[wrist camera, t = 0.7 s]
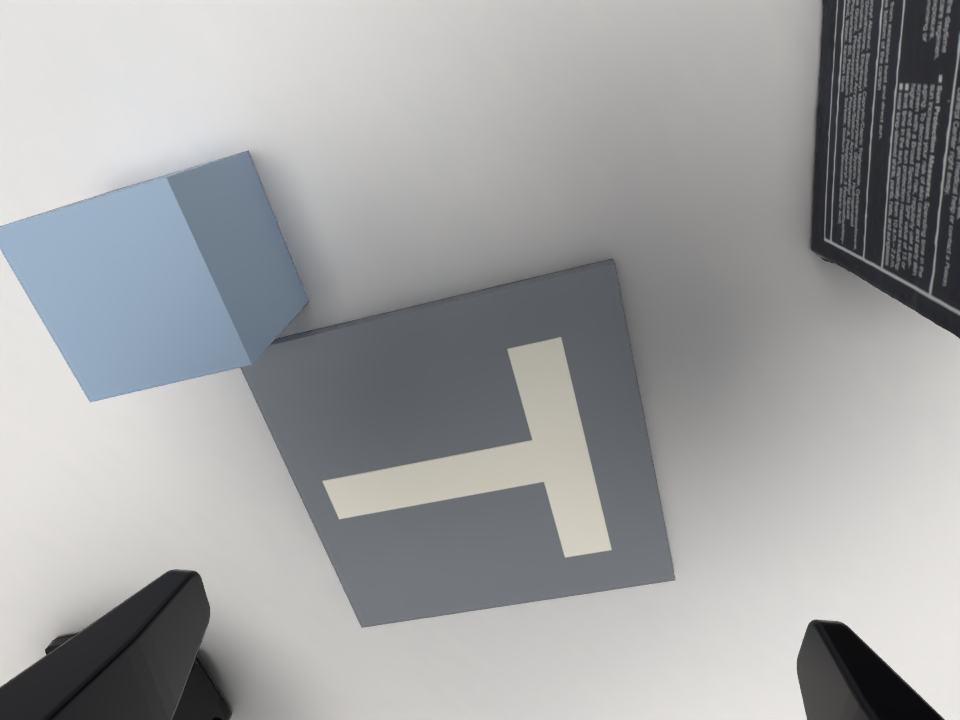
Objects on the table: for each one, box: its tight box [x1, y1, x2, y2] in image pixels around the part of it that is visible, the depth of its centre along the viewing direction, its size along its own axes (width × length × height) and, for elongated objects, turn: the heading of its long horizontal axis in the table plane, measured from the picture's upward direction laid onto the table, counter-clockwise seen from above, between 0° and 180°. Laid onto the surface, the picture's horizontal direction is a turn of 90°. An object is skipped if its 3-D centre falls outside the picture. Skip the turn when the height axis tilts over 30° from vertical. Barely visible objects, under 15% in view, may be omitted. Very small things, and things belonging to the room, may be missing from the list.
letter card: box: [240, 259, 675, 627], centre depth 24 cm, size 13×13×1 cm
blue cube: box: [0, 151, 309, 402], centre depth 19 cm, size 5×5×5 cm
